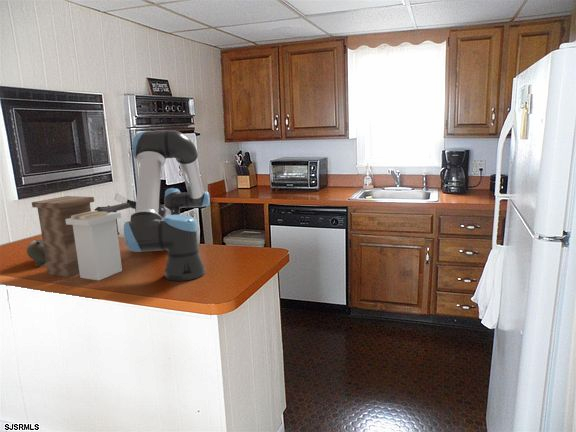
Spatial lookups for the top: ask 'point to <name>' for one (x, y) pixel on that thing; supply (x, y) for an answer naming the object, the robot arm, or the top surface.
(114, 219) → the white tapered pedestal
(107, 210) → the turner
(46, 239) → the plinth
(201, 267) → the robot arm
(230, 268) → the top surface
